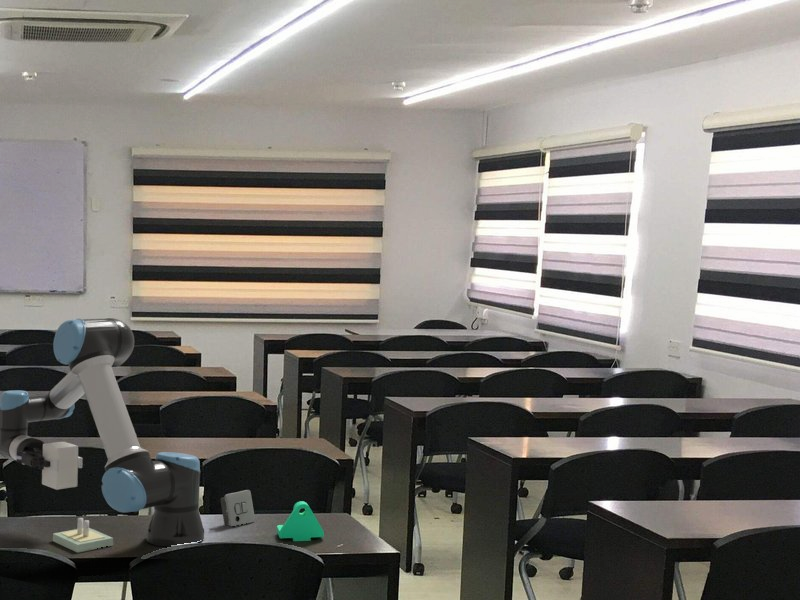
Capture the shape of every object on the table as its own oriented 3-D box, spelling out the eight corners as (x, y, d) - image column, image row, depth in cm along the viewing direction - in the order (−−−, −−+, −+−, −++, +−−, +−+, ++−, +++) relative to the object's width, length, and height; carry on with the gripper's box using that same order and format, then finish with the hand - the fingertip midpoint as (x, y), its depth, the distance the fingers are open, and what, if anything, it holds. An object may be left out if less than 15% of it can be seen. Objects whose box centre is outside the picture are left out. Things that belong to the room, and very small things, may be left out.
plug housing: (41, 484, 270) (42, 443, 270) (62, 481, 274) (63, 441, 274) (56, 489, 265) (57, 448, 264) (77, 486, 269) (78, 445, 268)
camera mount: (318, 533, 281) (320, 496, 280) (323, 540, 273) (325, 503, 273) (276, 534, 278) (277, 497, 277) (279, 542, 270) (281, 504, 270)
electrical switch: (231, 528, 281) (230, 495, 281) (218, 526, 284) (217, 493, 285) (255, 522, 288) (254, 490, 289) (243, 520, 292) (242, 488, 292)
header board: (52, 541, 262) (53, 517, 262) (87, 534, 269) (88, 511, 269) (77, 552, 253) (78, 528, 253) (112, 545, 260) (113, 522, 260)
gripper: (60, 460, 289) (101, 474, 273) (-5, 468, 275) (35, 483, 259) (60, 434, 288) (102, 446, 272) (-4, 441, 275) (35, 454, 259)
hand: (69, 464), depth 266 cm, fingers closed on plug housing, 6 cm apart
